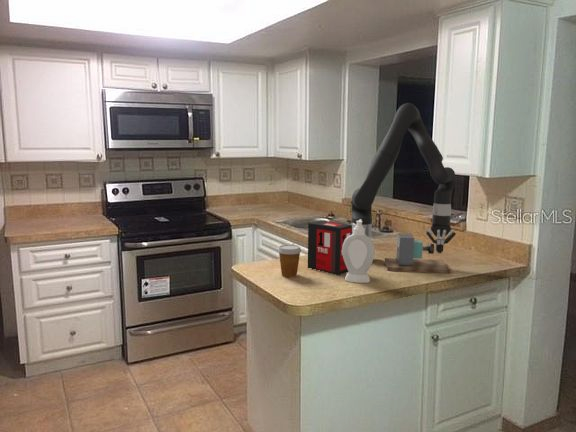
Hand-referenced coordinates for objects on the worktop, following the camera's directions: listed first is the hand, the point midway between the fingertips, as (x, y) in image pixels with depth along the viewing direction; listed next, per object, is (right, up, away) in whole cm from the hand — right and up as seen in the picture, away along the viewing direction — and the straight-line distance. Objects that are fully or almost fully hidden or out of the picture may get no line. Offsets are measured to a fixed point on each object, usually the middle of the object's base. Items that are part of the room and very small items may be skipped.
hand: (439, 252), depth 210 cm
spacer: (-10, -2, +1) cm, 10 cm away
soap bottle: (-38, -10, -18) cm, 44 cm away
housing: (-15, -5, +3) cm, 16 cm away
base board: (-10, -7, +2) cm, 12 cm away
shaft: (-10, 0, +1) cm, 11 cm away
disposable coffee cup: (-66, -9, -12) cm, 68 cm away
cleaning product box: (-49, -7, -3) cm, 49 cm away
